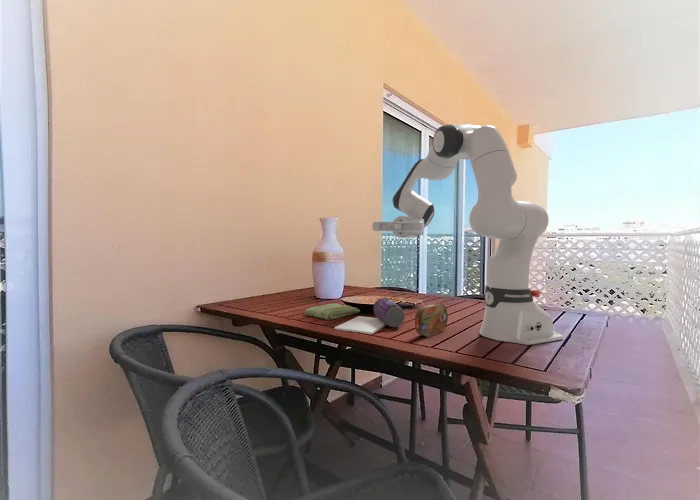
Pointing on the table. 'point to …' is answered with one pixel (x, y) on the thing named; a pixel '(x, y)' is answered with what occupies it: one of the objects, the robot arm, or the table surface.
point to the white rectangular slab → (362, 325)
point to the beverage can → (388, 312)
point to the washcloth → (331, 311)
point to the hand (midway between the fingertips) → (391, 226)
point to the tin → (431, 320)
